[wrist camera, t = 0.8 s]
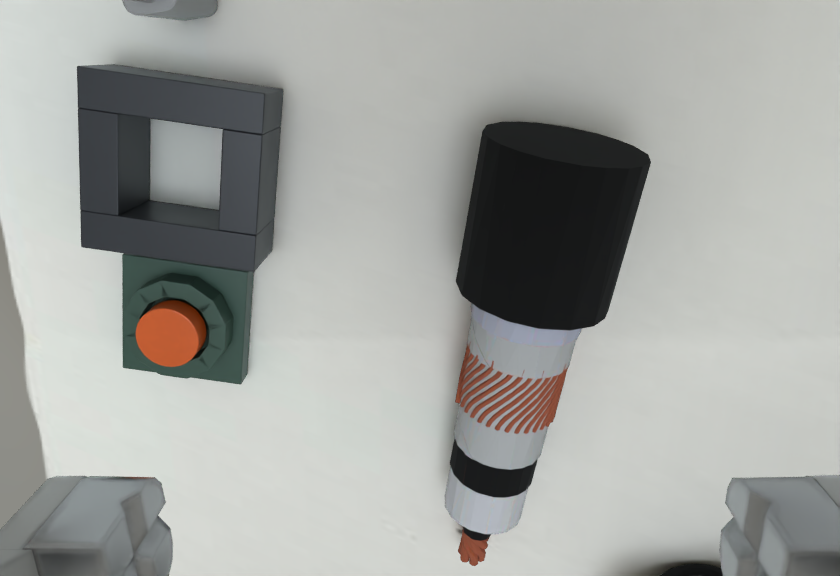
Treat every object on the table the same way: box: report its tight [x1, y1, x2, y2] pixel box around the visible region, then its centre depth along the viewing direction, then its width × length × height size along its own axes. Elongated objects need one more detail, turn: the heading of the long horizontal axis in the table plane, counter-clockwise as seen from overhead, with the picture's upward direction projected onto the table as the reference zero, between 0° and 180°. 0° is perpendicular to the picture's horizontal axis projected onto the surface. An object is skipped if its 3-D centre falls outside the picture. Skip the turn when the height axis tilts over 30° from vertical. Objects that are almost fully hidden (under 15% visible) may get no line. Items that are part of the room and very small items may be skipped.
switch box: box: [123, 253, 253, 384], centre depth 51 cm, size 9×9×4 cm
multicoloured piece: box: [445, 122, 651, 566], centre depth 49 cm, size 10×34×10 cm, turn 172°
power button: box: [136, 300, 206, 367], centre depth 49 cm, size 4×4×2 cm
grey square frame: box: [77, 64, 283, 272], centre depth 46 cm, size 12×12×5 cm
